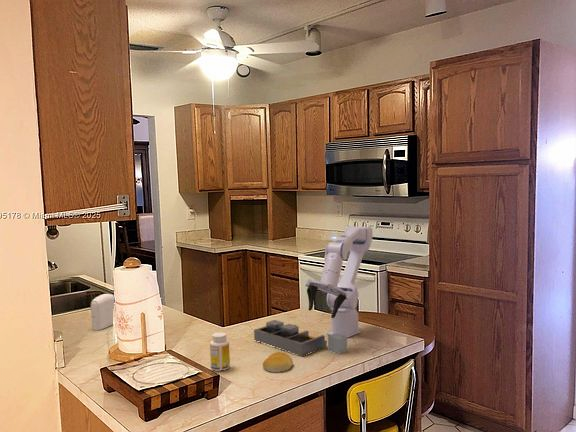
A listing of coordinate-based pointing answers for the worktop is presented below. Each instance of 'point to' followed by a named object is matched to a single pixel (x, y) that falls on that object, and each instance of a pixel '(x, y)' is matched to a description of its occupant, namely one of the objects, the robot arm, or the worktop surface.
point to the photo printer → (102, 311)
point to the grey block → (337, 343)
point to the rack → (289, 338)
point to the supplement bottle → (219, 352)
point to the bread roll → (278, 362)
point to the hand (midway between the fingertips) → (321, 313)
